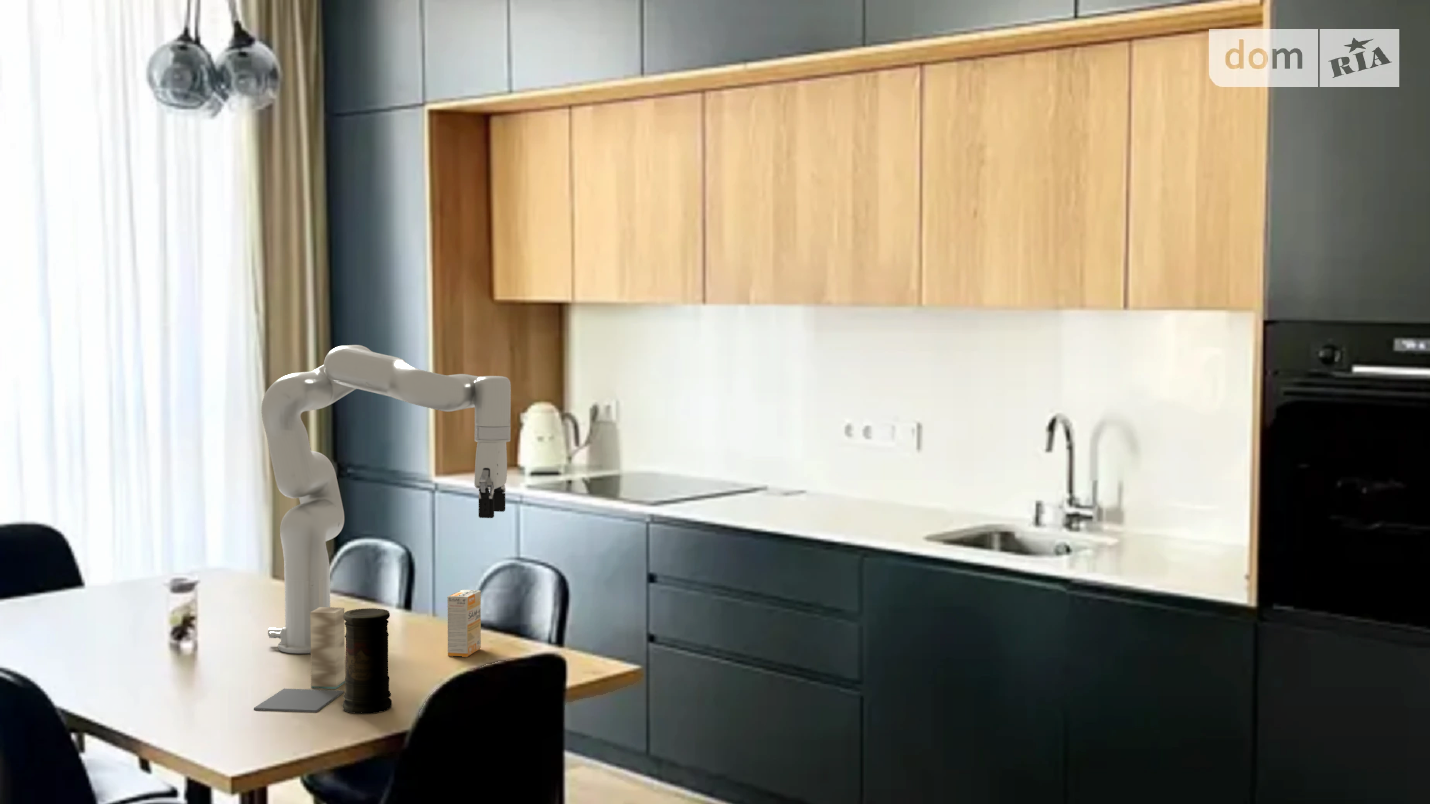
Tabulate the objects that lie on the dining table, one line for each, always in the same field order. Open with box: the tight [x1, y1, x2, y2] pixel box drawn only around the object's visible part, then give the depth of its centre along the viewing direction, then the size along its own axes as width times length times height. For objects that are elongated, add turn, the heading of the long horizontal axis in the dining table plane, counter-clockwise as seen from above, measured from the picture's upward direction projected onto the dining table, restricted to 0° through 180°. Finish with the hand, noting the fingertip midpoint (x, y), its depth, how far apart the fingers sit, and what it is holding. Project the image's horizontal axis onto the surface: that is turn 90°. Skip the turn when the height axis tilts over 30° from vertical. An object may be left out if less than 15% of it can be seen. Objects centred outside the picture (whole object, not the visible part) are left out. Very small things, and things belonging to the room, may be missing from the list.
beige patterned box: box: [310, 606, 346, 690], centre depth 291 cm, size 5×5×15 cm
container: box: [341, 607, 393, 715], centre depth 275 cm, size 9×9×18 cm
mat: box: [253, 688, 345, 713], centre depth 279 cm, size 12×14×1 cm
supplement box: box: [447, 589, 482, 658], centre depth 318 cm, size 8×5×13 cm, turn 168°
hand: (492, 514), depth 315 cm, fingers open, 9 cm apart
